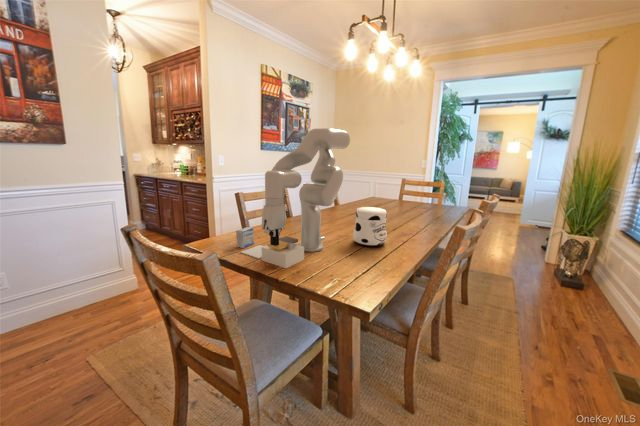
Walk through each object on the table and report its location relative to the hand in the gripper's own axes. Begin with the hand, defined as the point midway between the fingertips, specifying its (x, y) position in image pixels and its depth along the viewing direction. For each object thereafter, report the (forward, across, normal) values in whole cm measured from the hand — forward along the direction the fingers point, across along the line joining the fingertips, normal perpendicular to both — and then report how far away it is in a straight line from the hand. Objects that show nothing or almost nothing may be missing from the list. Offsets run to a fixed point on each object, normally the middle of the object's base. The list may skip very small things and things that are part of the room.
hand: (274, 244), depth 118 cm
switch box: (+8, -5, 0) cm, 10 cm away
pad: (+8, -5, -15) cm, 18 cm away
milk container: (+8, -50, +20) cm, 55 cm away
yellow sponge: (+2, -5, 0) cm, 5 cm away
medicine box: (+9, -7, -27) cm, 29 cm away
